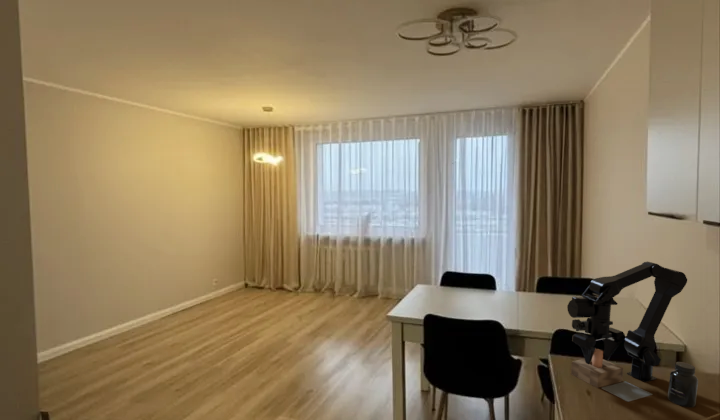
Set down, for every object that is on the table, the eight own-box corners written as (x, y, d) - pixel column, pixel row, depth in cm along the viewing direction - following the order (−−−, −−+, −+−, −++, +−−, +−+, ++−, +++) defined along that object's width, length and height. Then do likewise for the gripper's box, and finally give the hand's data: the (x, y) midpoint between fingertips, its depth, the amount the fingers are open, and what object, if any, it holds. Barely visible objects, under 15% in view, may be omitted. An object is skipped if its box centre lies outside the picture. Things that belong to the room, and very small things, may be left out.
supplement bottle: (669, 404, 128) (673, 366, 127) (665, 394, 134) (668, 358, 133) (698, 411, 125) (701, 372, 124) (692, 400, 131) (696, 363, 130)
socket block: (595, 369, 151) (596, 356, 150) (622, 382, 142) (623, 368, 141) (570, 375, 146) (571, 361, 146) (597, 388, 137) (598, 374, 136)
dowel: (595, 376, 146) (597, 348, 145) (603, 380, 143) (605, 351, 142) (589, 377, 145) (591, 349, 144) (597, 381, 142) (599, 352, 141)
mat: (625, 382, 141) (625, 381, 141) (653, 395, 133) (653, 394, 133) (600, 389, 137) (600, 387, 137) (627, 402, 129) (627, 401, 128)
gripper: (597, 306, 153) (595, 348, 154) (560, 312, 146) (557, 356, 147) (627, 316, 143) (624, 361, 144) (588, 323, 135) (585, 370, 137)
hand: (597, 361), depth 143 cm, fingers open, 9 cm apart
